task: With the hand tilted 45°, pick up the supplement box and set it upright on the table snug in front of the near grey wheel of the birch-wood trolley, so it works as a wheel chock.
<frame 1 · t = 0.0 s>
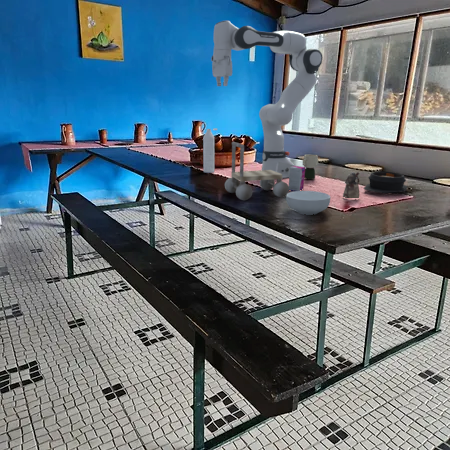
hand: (222, 86, 207), 48 cm above the table, tool pointing down, fingers open, 8 cm apart
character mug: (309, 179, 224), on the table
casserole: (385, 191, 197), on the table
supplement box: (295, 190, 197), on the table
figurine: (350, 199, 183), on the table
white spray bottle: (210, 172, 242), on the table
cereal bowl: (307, 212, 161), on the table
trolley: (255, 194, 188), on the table
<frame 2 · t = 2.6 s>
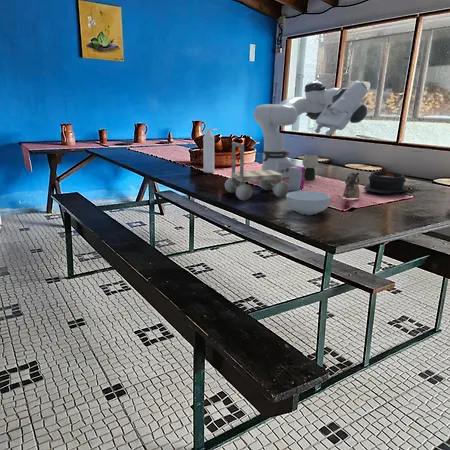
hand: (321, 133, 192), 27 cm above the table, tool tilted 40°, fingers open, 8 cm apart
nothing on the table moved.
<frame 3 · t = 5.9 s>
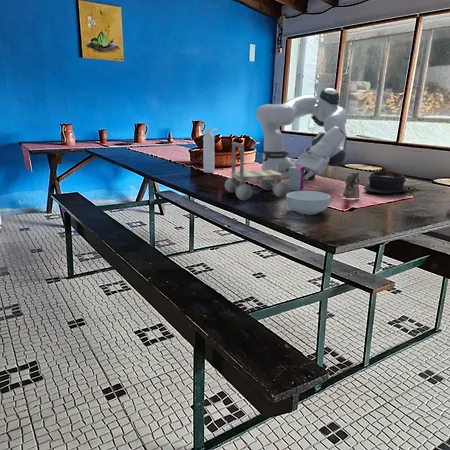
hand: (299, 176, 195), 7 cm above the table, tool tilted 45°, fingers open, 8 cm apart
supplement box: (295, 190, 197), on the table, touching gripper
everything else where it was.
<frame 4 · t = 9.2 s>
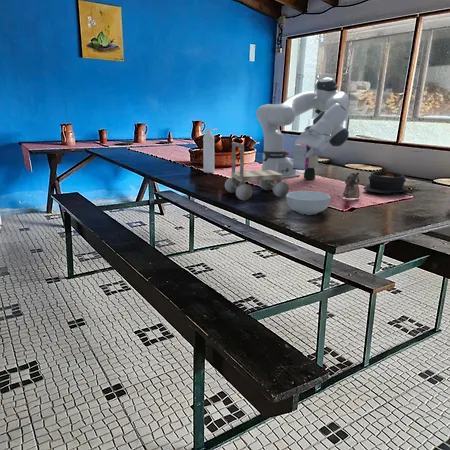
hand: (300, 155, 188), 17 cm above the table, tool tilted 45°, fingers closed on supplement box, 8 cm apart
supplement box: (300, 169, 190), point 11 cm above the table, touching gripper
everything else where it was.
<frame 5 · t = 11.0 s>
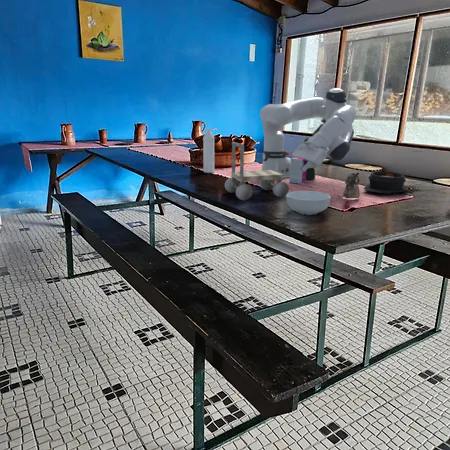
hand: (297, 168, 183), 13 cm above the table, tool tilted 45°, fingers closed on supplement box, 8 cm apart
supplement box: (297, 183, 185), point 6 cm above the table, touching gripper
everything else where it was.
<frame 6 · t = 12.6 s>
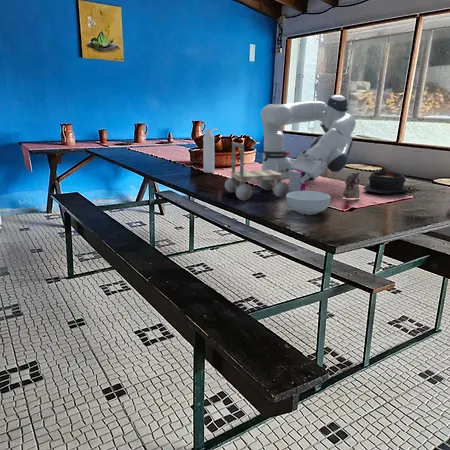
hand: (295, 180, 184), 7 cm above the table, tool tilted 45°, fingers closed on supplement box, 7 cm apart
supplement box: (296, 195, 187), on the table, touching gripper
everything else where it was.
when the fingers open (7 cm above the table, at t = 12.9 s): supplement box stays where it is, on the table.
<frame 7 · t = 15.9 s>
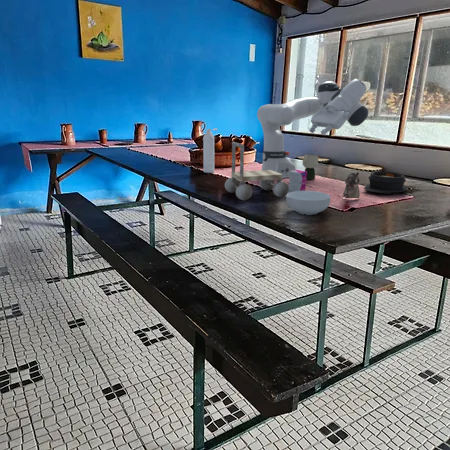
hand: (316, 132, 181), 28 cm above the table, tool tilted 45°, fingers open, 8 cm apart
supplement box: (296, 196, 187), on the table
everything else where it was.
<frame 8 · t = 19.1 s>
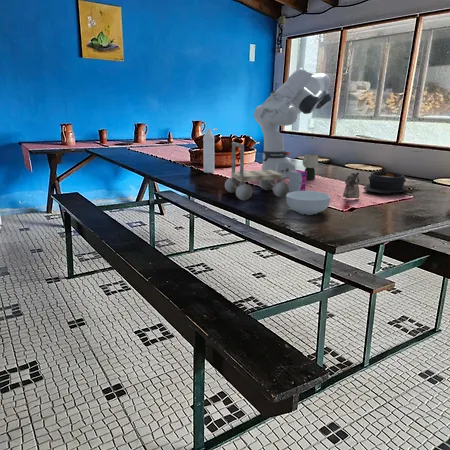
hand: (264, 118, 192), 33 cm above the table, tool tilted 45°, fingers open, 8 cm apart
nothing on the table moved.
at the end: supplement box 0.3 cm from the target spot on the table beside the trolley, on the table; supplement box tilted 0°; the gripper is holding nothing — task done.
